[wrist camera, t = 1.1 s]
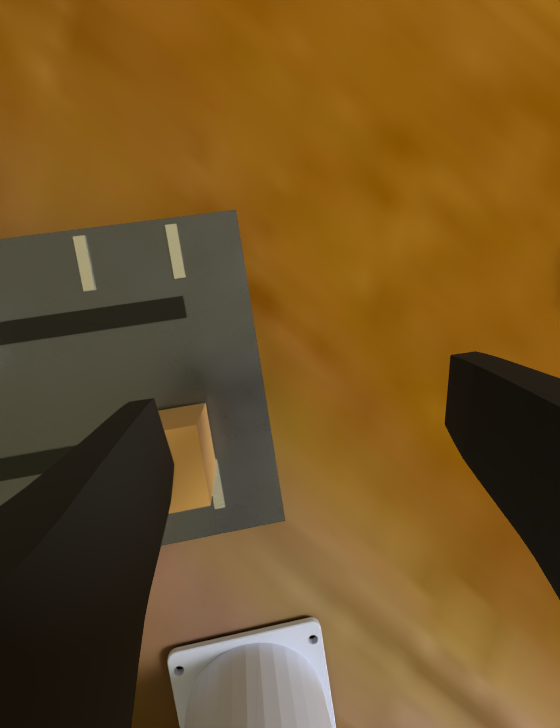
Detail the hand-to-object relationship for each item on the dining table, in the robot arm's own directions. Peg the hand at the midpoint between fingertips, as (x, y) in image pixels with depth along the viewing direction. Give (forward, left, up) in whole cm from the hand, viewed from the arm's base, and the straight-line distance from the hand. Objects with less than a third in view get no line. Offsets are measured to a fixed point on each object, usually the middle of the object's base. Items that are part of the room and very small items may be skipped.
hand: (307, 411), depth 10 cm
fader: (-2, +5, -9) cm, 10 cm away
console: (0, +12, -11) cm, 16 cm away
